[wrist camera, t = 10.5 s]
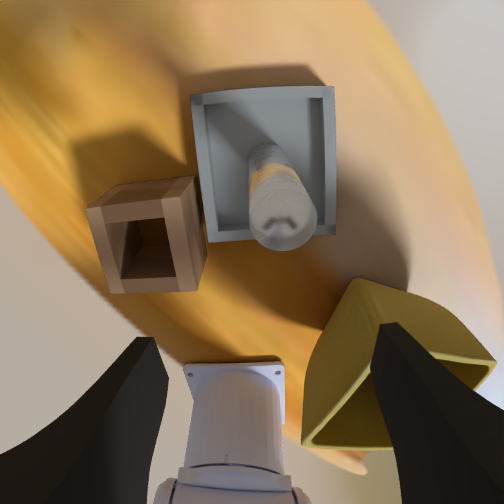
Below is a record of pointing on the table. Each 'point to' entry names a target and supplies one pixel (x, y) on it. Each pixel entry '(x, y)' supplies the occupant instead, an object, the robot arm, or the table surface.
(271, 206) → the cylinder
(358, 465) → the table surface
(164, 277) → the walnut block
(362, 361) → the flower pot
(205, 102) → the tray
